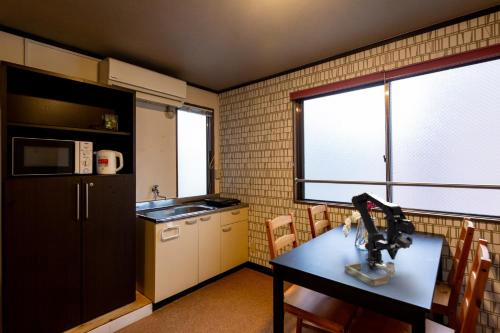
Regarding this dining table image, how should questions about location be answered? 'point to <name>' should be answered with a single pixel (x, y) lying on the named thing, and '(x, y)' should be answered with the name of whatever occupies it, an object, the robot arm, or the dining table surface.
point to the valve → (383, 267)
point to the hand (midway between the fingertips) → (392, 259)
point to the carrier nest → (371, 281)
